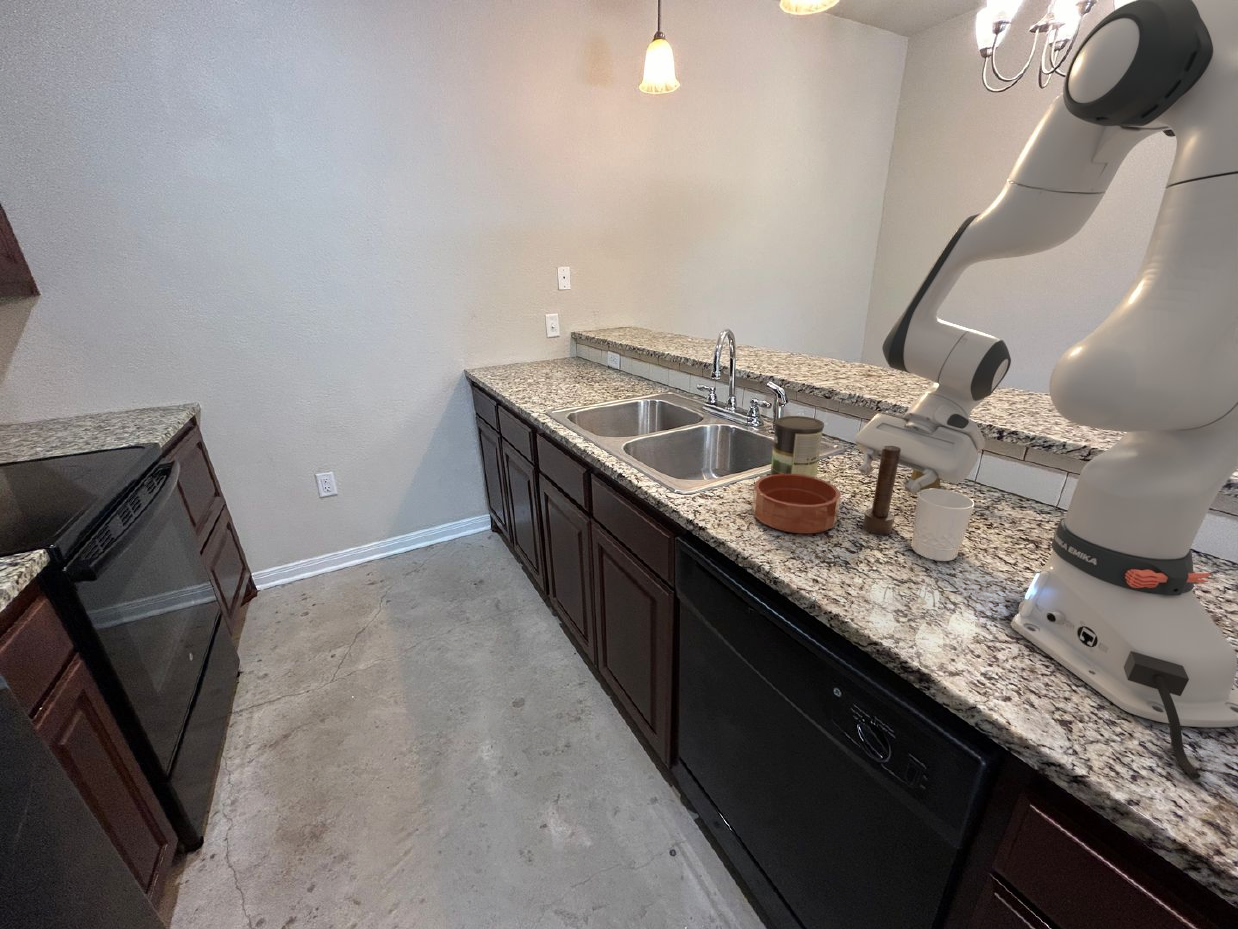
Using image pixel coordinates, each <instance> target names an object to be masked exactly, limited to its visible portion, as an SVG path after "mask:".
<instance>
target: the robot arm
mask: <svg viewBox="0 0 1238 929" xmlns="http://www.w3.org/2000/svg"><path fill="white" fill-rule="evenodd" d="M1161 132H1162V133H1164V135H1166V137H1169V138H1170V137H1171V138H1172V137H1175V139H1176V146H1175V147H1176V149H1175V154H1174V159H1173V162H1172V165H1171V168H1170V171H1169V174H1168V178H1167V181H1166V185H1165V186H1164V187H1165V189H1164V190H1163V191H1164V192H1163V195H1162V199H1161V201H1160V205H1159V209H1158V212H1157V216H1156V219H1155V223H1154V226H1153V229H1152V231H1151V235H1150V238H1149V241H1148V245H1147V247H1146V251H1145V254H1144V257H1143V259H1142V262H1141V265H1140V266H1139V269H1138V271H1137V272H1136V275H1135V277H1134V279H1133V281H1132V282H1131V284H1130V286H1129V287H1128V289H1127V291H1125V294H1124V295H1123V296H1122V298H1121V299H1120V300H1119V302H1118V304H1117V305H1116V306H1115V307H1114V309H1113V310H1112V311H1111V313H1110V314H1109V315H1108V316H1107V317H1106V319H1104V321H1103V322H1102V323H1101V324H1100V325H1099V326H1098V327H1096V329H1094V331H1092V332H1091V333H1089V335H1087V336H1086V337H1085V338H1083V339H1082V340H1080V341H1078V342H1077V343H1075V344H1073V345H1072V346H1070V347H1069V348H1068V349H1067V350H1066V351H1065V352H1064V353H1062V355H1061V356H1060V357H1059V358H1058V359H1057V361H1056V363H1055V365H1054V367H1053V369H1052V371H1051V374H1050V378H1049V384H1048V385H1049V386H1048V388H1049V389H1048V390H1049V396H1050V400H1051V402H1052V405H1053V407H1054V408H1055V410H1056V411H1057V412H1058V414H1059V415H1060V416H1062V417H1063V418H1064V419H1065V420H1067V421H1068V422H1070V423H1072V424H1076V425H1079V426H1084V427H1089V428H1093V429H1100V430H1106V431H1111V432H1121V433H1125V434H1124V435H1123V436H1122V437H1121V438H1120V439H1119V440H1118V441H1117V442H1116V443H1115V444H1113V445H1112V446H1111V447H1110V448H1108V449H1106V450H1105V451H1103V452H1102V453H1099V454H1098V455H1096V456H1095V457H1093V458H1091V460H1089V461H1087V463H1086V464H1085V465H1084V466H1083V467H1082V469H1081V471H1080V473H1079V476H1078V478H1077V481H1076V485H1075V487H1074V490H1073V492H1072V493H1073V494H1072V496H1071V499H1070V503H1069V505H1068V508H1067V510H1066V511H1067V512H1066V513H1065V517H1063V518H1062V519H1060V520H1059V523H1058V525H1057V527H1056V529H1054V532H1053V538H1052V541H1051V549H1052V551H1051V553H1050V555H1049V558H1048V560H1047V561H1046V563H1045V564H1044V566H1043V567H1042V569H1041V570H1040V573H1039V572H1038V573H1036V574H1035V576H1034V578H1033V580H1032V582H1031V583H1030V586H1028V589H1027V591H1026V593H1025V596H1024V598H1023V599H1022V600H1021V601H1020V603H1019V605H1018V613H1017V614H1016V615H1014V616H1013V618H1012V619H1011V622H1010V627H1011V628H1012V629H1013V630H1014V631H1015V632H1017V633H1018V634H1019V635H1021V636H1022V637H1023V638H1024V639H1026V640H1027V641H1029V642H1030V643H1031V644H1033V645H1034V646H1036V647H1037V648H1039V649H1040V650H1041V651H1042V652H1044V653H1045V654H1047V655H1048V656H1049V657H1051V658H1052V659H1053V660H1055V661H1056V662H1057V663H1059V664H1060V665H1061V666H1063V667H1064V668H1065V669H1067V670H1068V671H1069V672H1070V673H1072V674H1074V675H1075V676H1076V677H1077V678H1079V679H1080V680H1082V682H1084V683H1086V684H1087V685H1088V686H1090V687H1091V688H1092V689H1094V690H1095V691H1096V692H1098V693H1099V694H1100V695H1102V696H1103V697H1105V698H1106V699H1107V700H1108V701H1110V702H1111V703H1113V705H1115V706H1117V707H1118V708H1120V709H1121V710H1123V711H1125V712H1126V713H1128V714H1132V715H1134V716H1137V717H1141V718H1143V719H1147V720H1152V721H1155V722H1160V723H1162V724H1163V723H1164V724H1168V725H1169V735H1170V743H1171V748H1172V751H1173V754H1174V757H1175V759H1176V761H1177V763H1178V764H1179V766H1180V767H1181V769H1183V771H1184V772H1185V773H1186V775H1188V777H1189V778H1191V779H1193V780H1197V779H1200V778H1201V774H1200V772H1199V771H1198V770H1197V769H1196V768H1195V767H1194V766H1193V765H1192V764H1191V762H1190V760H1189V759H1188V757H1187V754H1186V752H1185V748H1184V742H1183V733H1182V727H1191V728H1232V727H1233V728H1234V727H1238V687H1237V686H1236V685H1235V684H1234V683H1235V679H1236V675H1237V671H1238V655H1237V652H1236V650H1235V649H1234V647H1233V646H1232V645H1231V644H1230V642H1229V641H1228V640H1227V638H1226V637H1225V635H1224V631H1223V630H1222V628H1221V627H1220V626H1219V625H1217V624H1216V622H1215V621H1214V620H1213V618H1211V616H1210V614H1209V613H1208V611H1206V609H1205V607H1204V605H1203V604H1202V603H1201V601H1200V599H1199V598H1198V597H1197V596H1196V595H1195V593H1194V591H1193V589H1194V587H1195V583H1208V581H1209V580H1206V579H1205V578H1209V577H1212V574H1211V573H1209V572H1194V561H1193V553H1192V551H1191V547H1192V545H1193V543H1194V541H1195V539H1196V536H1197V535H1198V533H1199V530H1200V529H1201V526H1202V524H1203V522H1204V520H1205V518H1206V516H1207V514H1208V512H1209V510H1210V508H1211V506H1212V504H1213V502H1214V500H1215V499H1216V497H1217V496H1218V494H1219V493H1220V491H1221V489H1222V488H1223V487H1224V486H1225V484H1226V483H1227V482H1228V481H1229V479H1230V478H1231V477H1232V475H1234V473H1235V472H1236V471H1237V470H1238V0H1133V1H1131V2H1128V3H1125V4H1124V5H1121V6H1119V7H1118V8H1116V9H1114V10H1113V11H1112V12H1110V13H1109V14H1107V15H1106V16H1105V17H1104V18H1103V19H1102V20H1100V21H1099V22H1098V23H1097V24H1096V25H1095V26H1094V27H1093V29H1091V30H1090V31H1089V33H1088V34H1087V35H1086V37H1084V39H1083V41H1082V42H1081V43H1080V45H1079V46H1078V48H1077V50H1076V51H1075V53H1074V55H1073V57H1072V59H1071V61H1070V63H1069V64H1068V67H1067V70H1066V73H1065V77H1064V81H1063V87H1062V93H1061V94H1060V95H1059V96H1057V97H1056V98H1055V99H1054V100H1053V101H1052V103H1051V104H1050V105H1049V106H1048V108H1047V110H1046V111H1045V113H1044V114H1043V116H1041V118H1040V119H1039V121H1038V123H1037V125H1036V126H1035V128H1034V129H1033V131H1032V132H1031V134H1030V136H1029V137H1028V139H1027V141H1026V143H1025V145H1024V146H1023V148H1022V150H1021V152H1020V154H1019V156H1018V157H1017V160H1016V161H1015V163H1014V165H1013V167H1012V170H1011V171H1010V173H1009V176H1008V178H1007V180H1006V182H1005V184H1004V186H1003V188H1002V189H1001V191H1000V192H999V194H998V195H997V197H996V198H995V199H994V200H993V201H992V202H991V204H990V205H989V206H987V207H986V209H984V210H983V211H982V212H980V213H977V214H974V215H973V214H972V215H971V216H969V217H967V218H966V219H965V220H964V221H963V222H962V223H961V224H960V225H959V227H957V229H956V230H955V231H954V232H953V234H952V235H951V236H950V238H949V239H948V241H947V242H946V244H945V246H944V247H943V248H942V250H941V252H939V254H938V256H937V257H936V259H935V261H934V262H933V263H932V266H931V267H930V269H929V270H928V272H927V274H926V275H925V277H924V278H923V280H922V282H921V284H920V285H919V287H918V288H917V290H916V292H915V293H914V295H913V296H912V298H911V300H910V302H909V303H908V305H907V306H906V307H905V309H904V311H903V312H902V313H901V314H900V316H899V318H898V319H897V321H895V323H894V325H893V326H892V327H891V328H890V330H889V331H888V333H887V335H886V336H885V339H884V341H883V344H882V347H881V348H882V353H883V356H884V359H885V361H886V362H887V364H888V366H889V368H891V369H894V370H897V371H901V372H903V373H907V374H913V375H915V376H918V377H921V378H923V379H926V380H928V381H930V384H929V386H928V387H927V388H926V390H924V391H923V392H921V393H920V394H919V395H918V397H917V398H916V399H915V401H914V402H913V403H912V404H911V405H910V407H909V408H908V409H907V411H906V412H905V413H899V412H894V411H892V410H886V411H882V412H878V413H876V414H875V415H874V417H873V418H872V419H871V420H869V421H868V422H867V423H866V424H865V425H864V426H863V427H862V428H861V429H860V430H859V432H857V433H856V435H855V437H854V443H855V445H856V446H857V448H858V449H859V450H860V451H861V452H863V462H862V464H861V465H860V466H859V468H858V471H859V473H860V474H862V475H865V476H867V477H869V476H870V475H871V473H873V472H874V470H875V469H874V467H873V466H872V463H873V462H872V461H876V460H877V459H878V458H880V459H881V455H882V450H883V447H884V446H896V447H899V448H900V449H901V451H900V457H899V462H898V465H900V466H903V467H906V468H909V469H912V470H913V469H915V470H917V471H920V472H923V474H924V476H922V477H920V478H918V479H917V480H915V481H914V480H911V479H910V478H909V480H908V482H907V483H906V484H905V485H904V490H906V492H907V493H910V494H912V495H918V493H919V492H920V491H921V490H920V489H921V487H924V486H927V485H929V484H931V483H933V482H934V481H935V480H936V479H937V478H940V480H944V481H946V482H949V483H951V484H959V483H961V482H963V481H965V479H967V478H968V476H969V475H970V473H971V472H972V470H973V469H974V467H975V466H976V463H977V462H978V460H979V453H978V452H980V451H982V450H983V449H984V447H985V446H986V441H985V438H984V435H983V433H982V431H981V429H980V427H979V426H978V424H977V423H976V422H975V421H974V420H973V419H971V418H970V416H971V414H972V411H973V410H974V409H975V408H976V407H978V406H979V405H980V404H981V403H982V402H983V401H984V400H985V399H986V398H987V397H990V396H992V395H993V393H994V391H995V390H996V389H997V387H999V385H1000V384H1001V383H1002V381H1003V380H1004V379H1005V377H1006V376H1007V373H1008V372H1009V370H1010V368H1011V365H1012V358H1011V355H1010V351H1009V348H1008V346H1007V344H1006V343H1005V340H1004V339H1000V338H999V337H996V336H993V335H990V334H987V333H984V332H982V331H978V330H975V329H970V328H968V327H964V326H960V325H958V324H954V323H951V322H948V321H945V320H942V319H941V318H939V317H938V313H937V312H938V311H939V308H940V307H941V306H942V304H943V303H944V302H945V300H946V298H947V297H948V296H949V294H950V292H951V291H952V289H953V288H954V286H955V284H956V283H957V282H958V280H959V279H960V277H961V276H962V274H964V272H965V270H967V269H968V268H969V267H970V266H972V265H974V264H977V263H980V262H987V261H992V260H993V261H994V260H1000V259H1011V258H1019V257H1025V256H1031V255H1035V254H1039V253H1043V252H1046V251H1049V250H1052V249H1054V248H1056V247H1058V246H1060V245H1062V244H1065V243H1066V242H1068V241H1069V240H1071V239H1072V238H1073V237H1074V236H1076V235H1077V234H1079V232H1080V231H1081V230H1082V229H1083V227H1084V226H1085V225H1086V223H1087V222H1088V220H1089V219H1090V218H1091V217H1092V215H1093V213H1094V212H1095V210H1096V209H1097V207H1098V206H1099V204H1100V203H1101V201H1102V199H1103V197H1104V196H1105V194H1106V192H1107V191H1108V190H1109V189H1108V188H1110V185H1111V184H1112V181H1113V180H1114V178H1115V176H1116V174H1117V172H1118V170H1119V168H1120V167H1121V165H1122V163H1123V162H1124V160H1125V159H1126V157H1127V156H1128V154H1129V153H1130V152H1131V151H1132V150H1133V149H1134V148H1135V147H1137V145H1138V144H1140V143H1141V142H1143V141H1144V140H1145V139H1147V138H1149V137H1151V136H1152V135H1155V134H1158V133H1161ZM1181 726H1182V727H1181Z"/></svg>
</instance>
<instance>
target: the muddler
mask: <svg viewBox="0 0 1238 929" xmlns="http://www.w3.org/2000/svg"><path fill="white" fill-rule="evenodd" d="M900 451H901V449H900V448H899V447H896V446H884V447H883V450H882V455H881V458H880V461H879V466H878V472H877V477H876V478H877V479H876V484H875V489H874V496H873V501H872V505H871V508H867V509H866V510H865V512H864V516H863V517H864V518H863V523H862V528H863V529H864V530H865V531H866V532H868V533H870V534H873V535H877V536H878V535H879V536H884V535H886V536H887V535H890V534H891V533H892V532H893V526H894V525H893V524H894V521H895V516H894V514H893V513H892V512H890V507H891V503H892V498H893V492H894V487H895V481H896V477H897V472H898V466H899V464H898V462H899V457H900Z"/></svg>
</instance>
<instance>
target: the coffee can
mask: <svg viewBox="0 0 1238 929" xmlns="http://www.w3.org/2000/svg"><path fill="white" fill-rule="evenodd" d="M824 428H825V423H824V422H823V421H822V420H820V419H817V418H814V417H811V416H810V417H809V416H801V415H786V416H785V415H784V416H781V417H778V418H776V419H775V420H774V430H773V431H774V432H773V443H772V452H771V453H772V454H771V465H770V473H769V475H775V474H799V475H806V476H811V477H815V478H817V475H818V469H819V468H818V467H819V460H820V455H821V454H820V453H821V446H822V438H823V430H824Z"/></svg>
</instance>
